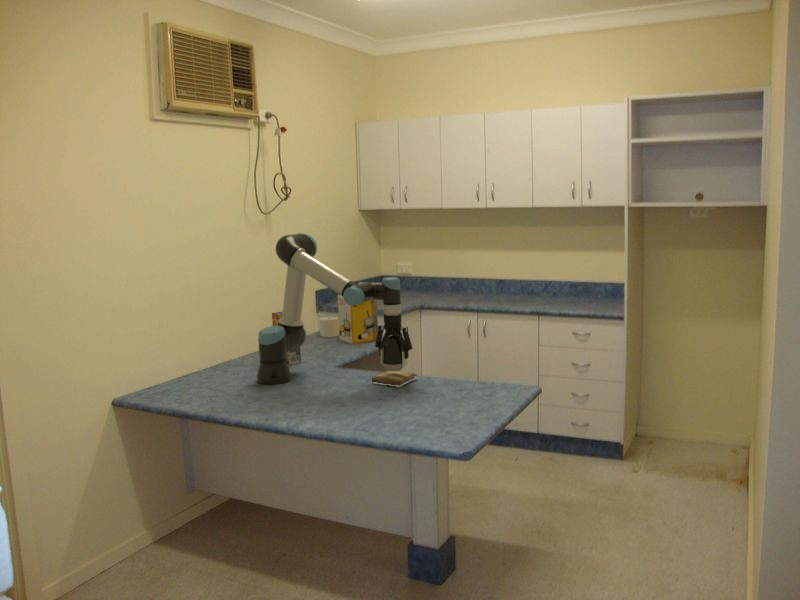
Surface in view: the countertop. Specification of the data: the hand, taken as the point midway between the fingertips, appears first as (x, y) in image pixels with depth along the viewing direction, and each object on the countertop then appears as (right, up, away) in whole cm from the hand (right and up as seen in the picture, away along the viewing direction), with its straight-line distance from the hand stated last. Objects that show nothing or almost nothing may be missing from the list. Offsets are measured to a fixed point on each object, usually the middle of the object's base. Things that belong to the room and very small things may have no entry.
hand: (394, 364), depth 314 cm
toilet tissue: (-38, +7, +107) cm, 114 cm away
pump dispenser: (0, -2, 0) cm, 2 cm away
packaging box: (-20, +5, +93) cm, 96 cm away
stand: (0, -8, +1) cm, 8 cm away
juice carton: (-53, -3, +46) cm, 70 cm away
